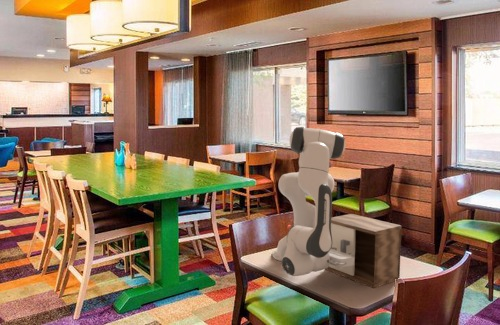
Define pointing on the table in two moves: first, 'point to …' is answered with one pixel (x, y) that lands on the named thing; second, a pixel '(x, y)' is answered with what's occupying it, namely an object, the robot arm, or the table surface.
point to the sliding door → (343, 244)
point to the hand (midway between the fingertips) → (344, 252)
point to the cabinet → (373, 250)
